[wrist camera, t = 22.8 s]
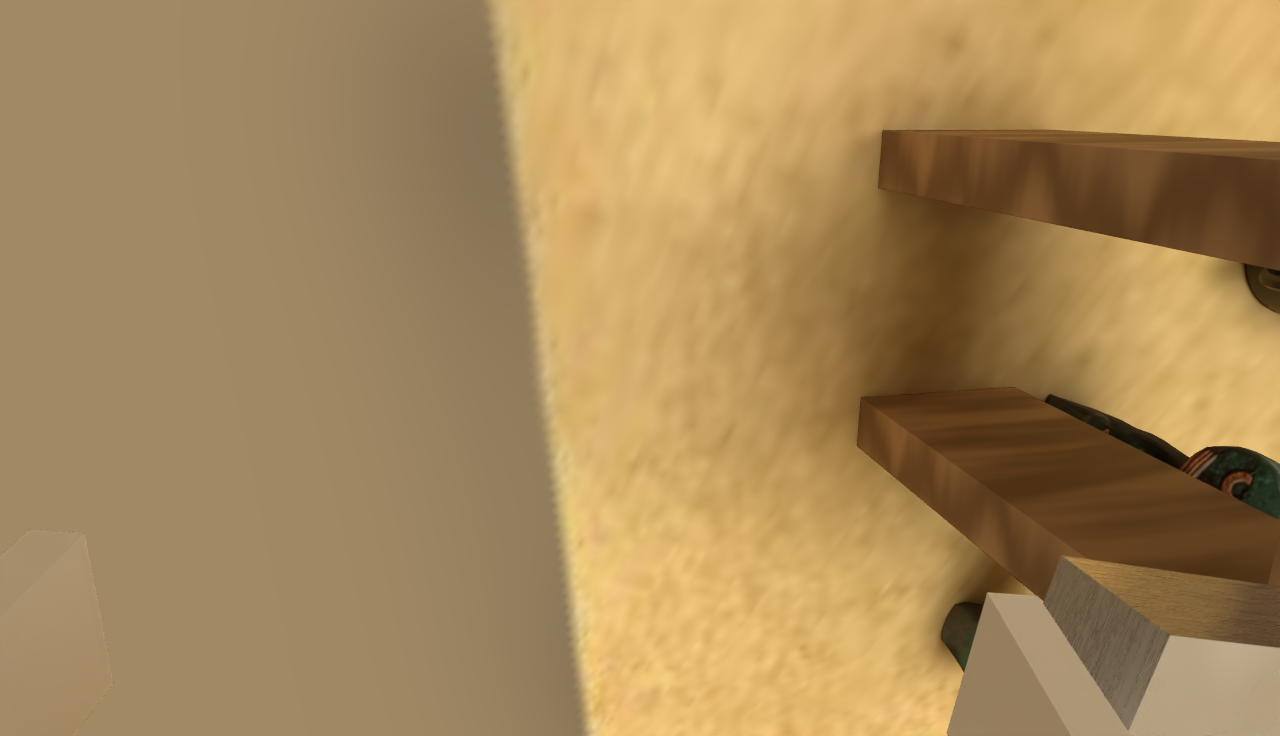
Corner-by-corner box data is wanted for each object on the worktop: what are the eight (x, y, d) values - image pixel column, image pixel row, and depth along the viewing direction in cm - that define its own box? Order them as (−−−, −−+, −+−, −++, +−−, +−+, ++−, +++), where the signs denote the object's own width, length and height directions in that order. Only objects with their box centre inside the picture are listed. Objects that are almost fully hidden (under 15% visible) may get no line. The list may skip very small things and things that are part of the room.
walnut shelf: (865, 130, 47) (1511, 181, 19) (1064, 129, 49) (1901, 173, 21) (841, 447, 52) (1316, 860, 24) (1022, 432, 54) (1646, 790, 26)
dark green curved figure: (1047, 362, 53) (1374, 505, 35) (1127, 391, 55) (1479, 542, 37) (913, 643, 57) (1141, 906, 39) (992, 661, 59) (1246, 920, 41)
